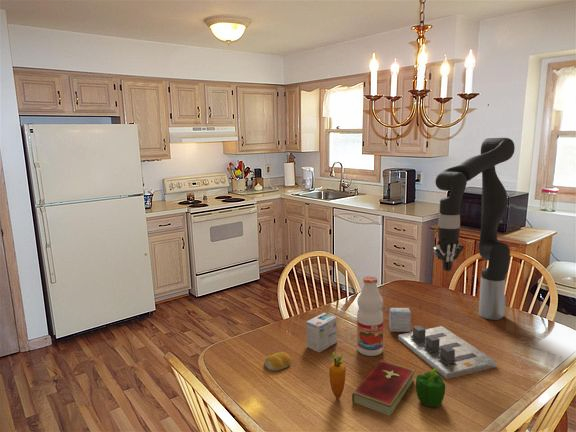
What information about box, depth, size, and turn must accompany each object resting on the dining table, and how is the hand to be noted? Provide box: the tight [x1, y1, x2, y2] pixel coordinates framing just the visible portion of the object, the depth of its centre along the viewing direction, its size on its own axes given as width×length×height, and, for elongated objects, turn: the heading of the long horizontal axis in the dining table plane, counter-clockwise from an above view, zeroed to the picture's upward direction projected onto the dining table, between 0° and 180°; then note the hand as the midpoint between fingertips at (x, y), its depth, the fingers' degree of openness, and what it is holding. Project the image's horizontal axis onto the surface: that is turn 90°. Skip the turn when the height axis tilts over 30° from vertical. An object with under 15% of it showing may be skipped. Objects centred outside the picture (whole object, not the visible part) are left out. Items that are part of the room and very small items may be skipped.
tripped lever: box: [438, 345, 457, 364], centre depth 138 cm, size 4×4×4 cm
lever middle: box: [424, 335, 441, 352], centre depth 146 cm, size 4×4×4 cm
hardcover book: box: [351, 359, 416, 417], centre depth 127 cm, size 12×21×4 cm, turn 145°
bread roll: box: [264, 351, 291, 372], centre depth 144 cm, size 8×9×4 cm
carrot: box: [328, 352, 347, 400], centre depth 123 cm, size 5×5×15 cm
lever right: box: [411, 325, 426, 342], centre depth 153 cm, size 4×4×4 cm
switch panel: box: [397, 325, 497, 380], centre depth 148 cm, size 20×28×2 cm
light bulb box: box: [305, 312, 338, 353], centre depth 156 cm, size 11×7×11 cm, turn 135°
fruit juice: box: [356, 275, 384, 357], centre depth 149 cm, size 9×9×28 cm
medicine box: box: [388, 307, 412, 333], centre depth 166 cm, size 8×4×9 cm, turn 84°
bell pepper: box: [415, 368, 446, 409], centre depth 120 cm, size 8×8×10 cm
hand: (447, 270), depth 155 cm, fingers closed
